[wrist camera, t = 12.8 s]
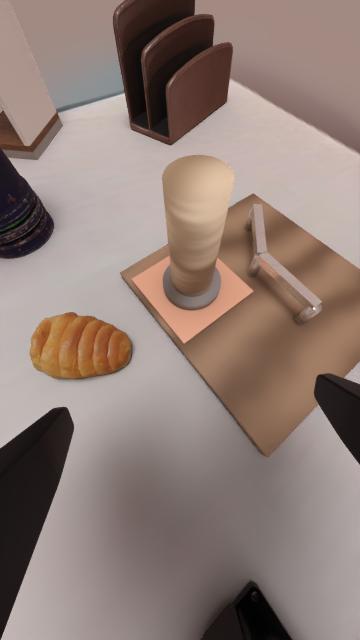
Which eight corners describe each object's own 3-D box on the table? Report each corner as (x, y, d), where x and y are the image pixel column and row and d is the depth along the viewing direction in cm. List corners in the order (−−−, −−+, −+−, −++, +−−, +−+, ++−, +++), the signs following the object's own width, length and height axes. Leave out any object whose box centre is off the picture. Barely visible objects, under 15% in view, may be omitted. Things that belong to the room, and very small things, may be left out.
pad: (252, 293, 24) (253, 291, 23) (183, 345, 21) (183, 343, 21) (196, 241, 27) (197, 238, 26) (132, 281, 24) (131, 278, 24)
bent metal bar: (306, 323, 22) (327, 308, 19) (274, 331, 22) (290, 318, 18) (251, 223, 28) (260, 199, 25) (225, 229, 28) (231, 205, 24)
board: (402, 310, 23) (411, 306, 23) (263, 454, 18) (267, 457, 17) (251, 199, 31) (253, 193, 30) (122, 277, 26) (120, 272, 25)
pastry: (139, 326, 23) (131, 312, 20) (126, 387, 21) (115, 383, 17) (61, 318, 24) (40, 302, 21) (39, 376, 21) (10, 370, 18)
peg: (227, 274, 24) (264, 160, 13) (205, 319, 22) (228, 227, 11) (178, 255, 25) (174, 137, 14) (153, 296, 23) (125, 193, 12)
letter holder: (130, 130, 40) (105, -3, 27) (189, 91, 46) (191, -33, 33) (171, 147, 38) (164, 9, 25) (227, 103, 44) (245, -26, 31)
